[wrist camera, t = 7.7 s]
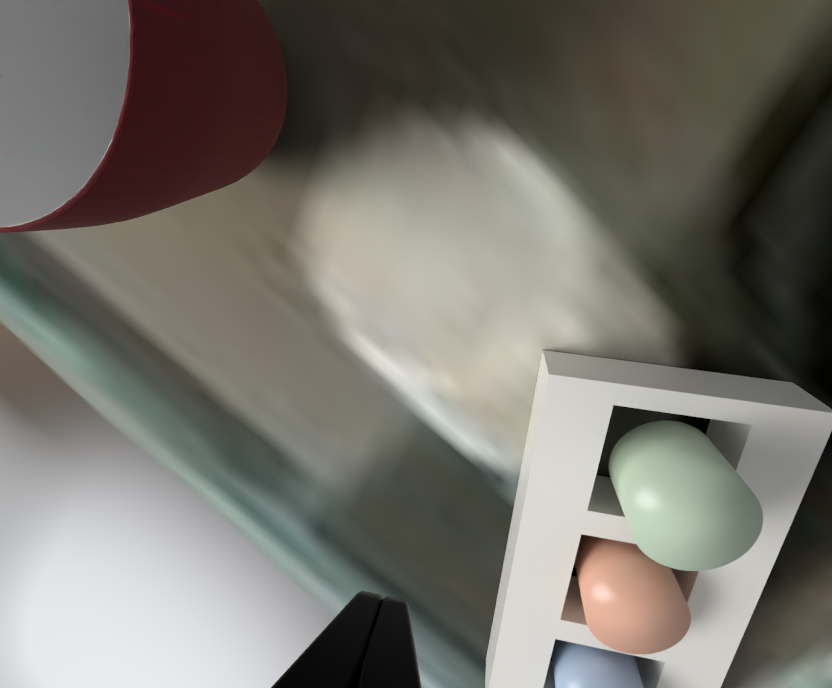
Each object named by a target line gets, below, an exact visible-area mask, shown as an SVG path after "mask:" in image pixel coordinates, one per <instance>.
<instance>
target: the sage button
mask: <svg viewBox="0 0 832 688" xmlns="http://www.w3.org/2000/svg"><path fill="white" fill-rule="evenodd" d="M609 475H610V478H611V481H612V483H613V486H614V489H615V491H616V494H617V497H618V499H619V502H620V505H621V507H622V510H623V513H624V515H625V518H626V521H627V523H628V526H629V529H630V531H631V534H632V537H633V539H634V541H635V543H636V544H637V546H638V547H639V548H640V549H641V551H642V552H643V553H644V554H646V555H647V556H648V557H649V558H651V559H652V560H654V561H655V562H657V563H659V564H662V565H664V566H667V567H670V568H674V569H678V570H685V571H704V570H710V569H715V568H718V567H722V566H724V565H727V564H729V563H731V562H733V561H735V560H737V559H738V558H740V557H742V556H743V555H744V554H745V553H746V552H748V551H749V550H750V548H751V547H752V546H753V545H754V544H755V542H756V541H757V539H758V537H759V535H760V533H761V530H762V525H763V512H762V507H761V505H760V502H759V500H758V499H757V497H756V496H755V494H754V493H753V492H752V490H751V489H750V488H749V487H748V486H747V484H746V483H745V482H744V481H743V479H742V478H741V477H740V476H739V475H738V473H737V472H736V471H735V470H734V468H733V467H732V466H731V465H730V464H729V462H728V461H727V460H726V459H725V458H724V456H723V455H722V454H721V453H720V451H719V450H718V449H717V448H716V447H715V445H714V444H713V443H712V442H711V440H710V439H709V438H708V437H707V436H706V435H705V434H704V433H703V432H701V431H700V430H698V429H697V428H695V427H693V426H691V425H688V424H685V423H682V422H677V421H668V420H667V421H654V422H650V423H646V424H643V425H640V426H638V427H636V428H634V429H632V430H631V431H629V432H627V433H626V434H625V435H624V436H623V437H622V438H621V439H620V440H619V441H618V442H617V443H616V445H615V446H614V448H613V450H612V452H611V455H610V458H609Z"/></svg>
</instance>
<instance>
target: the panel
mask: <svg viewBox="0 0 832 688" xmlns="http://www.w3.org/2000/svg"><path fill="white" fill-rule="evenodd" d="M613 405H616V406H623V407H630V408H637V409H644V410H651V411H658V412H665V413H672V414H679V415H686V416H693V417H700V418H707V419H710V422H709V426H708V429H707V432H706V436H707V437H708V438H709V439H710V440H711V442H712V443H713V444H714V445H715V447H716V448H717V449H718V450H719V451H720V453H721V454H722V455H723V456H724V458H725V459H726V460H727V461H728V462H729V464H730V465H731V466H732V467H733V468H734V470H735V471H736V472H737V473H738V475H739V476H740V477H741V478H742V479H743V481H744V482H745V483H746V484H747V486H748V487H749V488H750V489H751V490H752V492H753V493H754V494H755V496H756V497H757V499H758V500H759V502H760V505H761V507H762V512H763V525H762V530H761V533H760V535H759V537H758V539H757V541H756V542H755V544H754V545H753V546H752V547H751V548H750V550H749V551H748V552H746V553H745V554H744V555H743V556H742V557H740V558H738V559H737V560H735V561H733V562H731V563H729V564H727V565H724V566H722V567H718V568H715V569H710V570H704V571H685V570H678V569H674V568H671V569H672V571H673V573H674V575H675V578H676V580H677V582H678V584H679V587H680V589H681V591H682V593H683V596H684V598H685V600H686V602H687V605H688V607H689V610H690V613H691V624H690V627H689V630H688V632H687V633H686V635H685V636H684V638H683V639H682V640H681V641H680V642H678V643H677V644H676V645H674V646H672V647H671V648H669V649H666V650H664V651H661V652H657V653H653V654H629V653H624V652H620V651H617V650H614V649H612V648H610V647H608V646H606V645H604V644H603V643H601V642H600V641H599V640H598V639H597V638H596V637H595V636H594V635H593V634H592V633H591V631H590V629H589V628H588V625H587V623H586V618H585V613H584V608H583V603H582V598H581V593H580V588H579V583H578V577H574V576H571V574H572V570H573V566H574V562H575V558H576V554H577V550H578V546H579V542H580V538H581V534H583V535H588V536H594V537H599V538H605V539H610V540H616V541H622V542H627V543H633V544H636V543H635V541H634V539H633V537H632V534H631V531H630V529H629V526H628V523H627V521H626V518H625V515H624V513H623V510H622V507H621V505H620V502H619V499H618V497H617V494H616V491H615V489H614V486H613V483H612V481H611V478H610V477H604V476H598V475H596V474H597V470H598V465H599V461H600V457H601V453H602V449H603V445H604V441H605V437H606V433H607V429H608V425H609V421H610V417H611V413H612V409H613ZM831 431H832V409H831V408H830V407H828V406H827V405H825V404H824V403H822V402H821V401H819V400H818V399H816V398H815V397H813V396H812V395H810V394H809V393H807V392H806V391H805V390H803V389H802V388H800V387H799V386H797V385H796V384H794V383H793V382H785V381H777V380H769V379H762V378H754V377H746V376H739V375H731V374H723V373H716V372H708V371H700V370H693V369H685V368H677V367H670V366H662V365H654V364H647V363H639V362H631V361H623V360H616V359H608V358H600V357H593V356H585V355H577V354H570V353H562V352H554V351H547V350H543V351H542V356H541V361H540V367H539V372H538V378H537V383H536V389H535V394H534V400H533V405H532V411H531V416H530V422H529V427H528V433H527V438H526V443H525V449H524V454H523V460H522V465H521V471H520V476H519V482H518V487H517V493H516V498H515V504H514V509H513V515H512V520H511V525H510V531H509V536H508V542H507V547H506V553H505V558H504V564H503V569H502V575H501V580H500V586H499V591H498V596H497V602H496V607H495V613H494V618H493V624H492V629H491V635H490V640H489V646H488V651H487V657H486V680H485V688H555V679H554V670H553V661H550V659H551V655H552V651H553V647H554V643H555V639H557V640H562V641H567V642H572V643H576V644H581V645H586V646H591V647H595V648H600V649H605V650H610V651H614V652H619V653H624V654H629V655H633V656H635V659H636V663H637V666H638V670H639V673H640V677H641V680H642V684H643V687H644V688H721V685H722V683H723V681H724V678H725V676H726V674H727V671H728V669H729V667H730V665H731V662H732V660H733V658H734V655H735V653H736V651H737V648H738V646H739V644H740V641H741V639H742V637H743V635H744V632H745V630H746V628H747V625H748V623H749V621H750V618H751V616H752V614H753V611H754V609H755V607H756V604H757V602H758V600H759V598H760V595H761V593H762V591H763V588H764V586H765V584H766V581H767V579H768V577H769V574H770V572H771V570H772V568H773V565H774V563H775V561H776V558H777V556H778V554H779V551H780V549H781V547H782V544H783V542H784V540H785V538H786V535H787V533H788V531H789V528H790V526H791V524H792V521H793V519H794V517H795V514H796V512H797V510H798V507H799V505H800V503H801V501H802V498H803V496H804V494H805V491H806V489H807V487H808V484H809V482H810V480H811V477H812V475H813V473H814V471H815V468H816V466H817V464H818V461H819V459H820V457H821V454H822V452H823V450H824V447H825V445H826V443H827V441H828V438H829V436H830V434H831Z"/></svg>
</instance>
